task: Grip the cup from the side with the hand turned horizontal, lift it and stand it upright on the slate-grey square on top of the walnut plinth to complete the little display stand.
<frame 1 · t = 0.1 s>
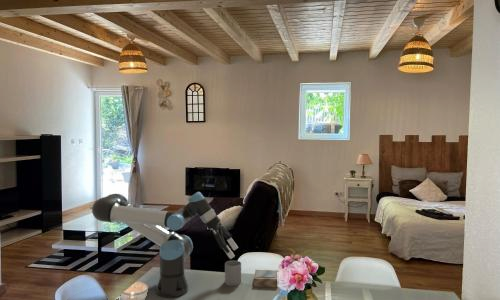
hand: (234, 253, 190), 15 cm above the table, tool tilted 35°, fingers open, 13 cm apart
plinth: (266, 281, 191), on the table
cup: (233, 282, 191), on the table
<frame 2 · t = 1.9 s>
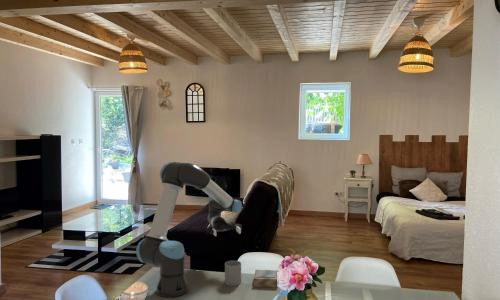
hand: (228, 232, 199), 23 cm above the table, tool horizontal, fingers open, 13 cm apart
nothing on the table moved.
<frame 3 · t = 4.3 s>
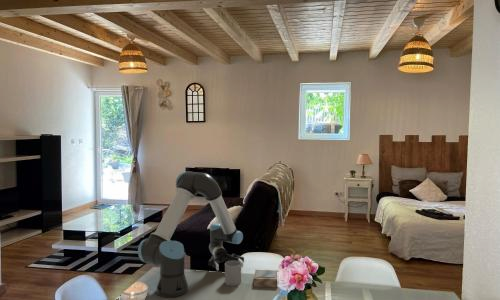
hand: (230, 266, 197), 6 cm above the table, tool horizontal, fingers open, 13 cm apart
nothing on the table moved.
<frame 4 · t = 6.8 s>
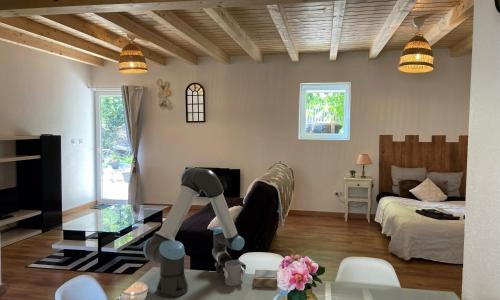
hand: (235, 274, 186), 6 cm above the table, tool horizontal, fingers closed on cup, 8 cm apart
cup: (233, 282, 191), on the table, touching gripper
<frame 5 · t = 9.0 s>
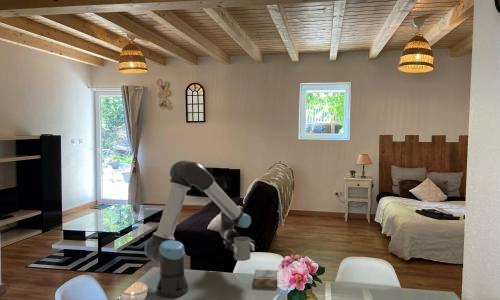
hand: (245, 249, 187), 18 cm above the table, tool horizontal, fingers closed on cup, 8 cm apart
cup: (242, 258, 191), point 12 cm above the table, touching gripper
when the fingers open (11 cm above the table, at t = 11.4 s): cup drops 1 cm, resting on plinth.
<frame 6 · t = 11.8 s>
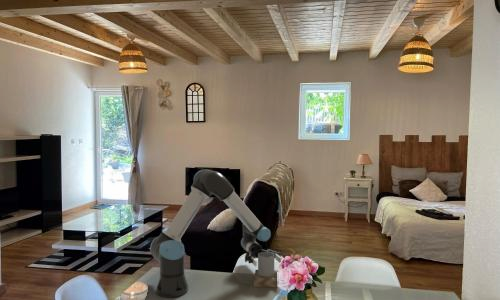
hand: (268, 262, 188), 11 cm above the table, tool horizontal, fingers open, 13 cm apart
cup: (266, 274, 191), point 4 cm above the table, touching plinth
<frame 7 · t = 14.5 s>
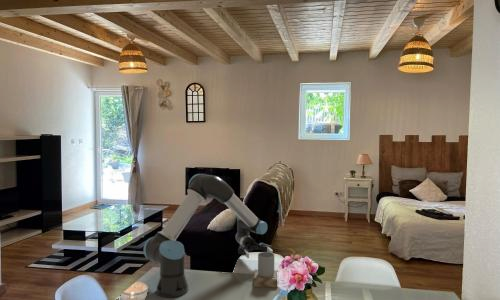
hand: (260, 254, 199), 12 cm above the table, tool horizontal, fingers open, 13 cm apart
nothing on the table moved.
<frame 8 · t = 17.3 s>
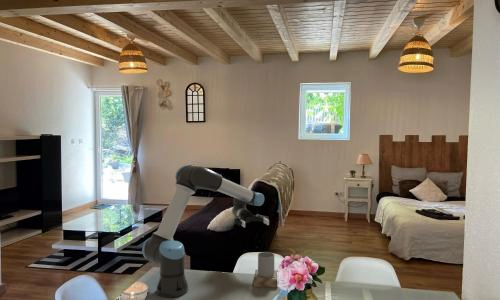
hand: (256, 223, 199), 28 cm above the table, tool horizontal, fingers open, 13 cm apart
nothing on the table moved.
at the end: cup 0.1 cm off-centre on the plinth, point 4.1 cm above the plinth's base; cup tilted 0°; the gripper is holding nothing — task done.
